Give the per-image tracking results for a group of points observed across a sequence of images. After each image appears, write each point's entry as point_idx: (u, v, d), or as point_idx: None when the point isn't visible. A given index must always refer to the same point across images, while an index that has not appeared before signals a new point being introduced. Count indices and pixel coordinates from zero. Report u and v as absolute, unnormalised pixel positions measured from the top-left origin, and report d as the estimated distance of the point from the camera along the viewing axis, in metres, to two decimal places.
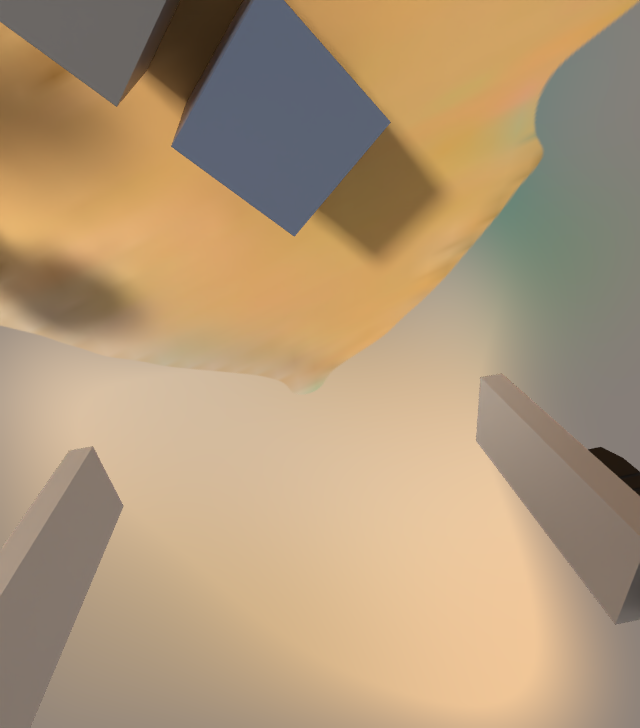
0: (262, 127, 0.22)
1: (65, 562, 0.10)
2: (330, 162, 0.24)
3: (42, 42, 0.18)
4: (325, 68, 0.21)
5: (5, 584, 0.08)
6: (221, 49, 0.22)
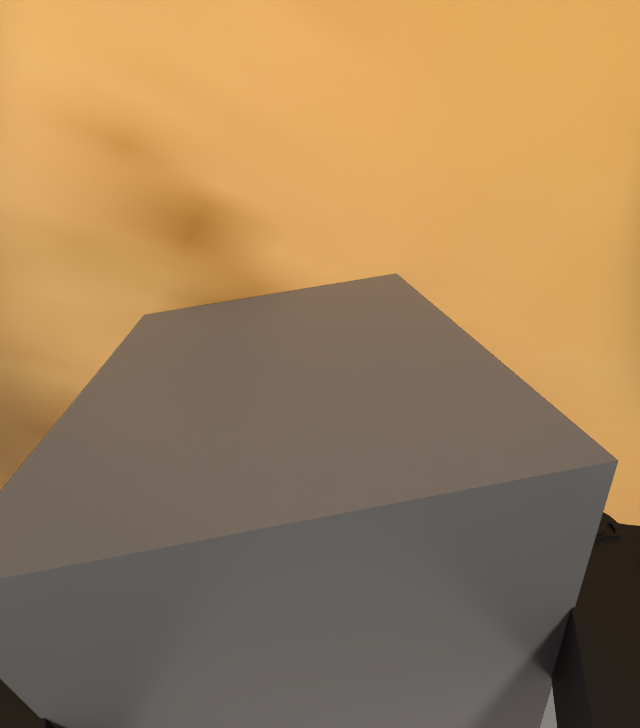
0: None
1: None
2: None
3: None
4: None
5: None
6: None
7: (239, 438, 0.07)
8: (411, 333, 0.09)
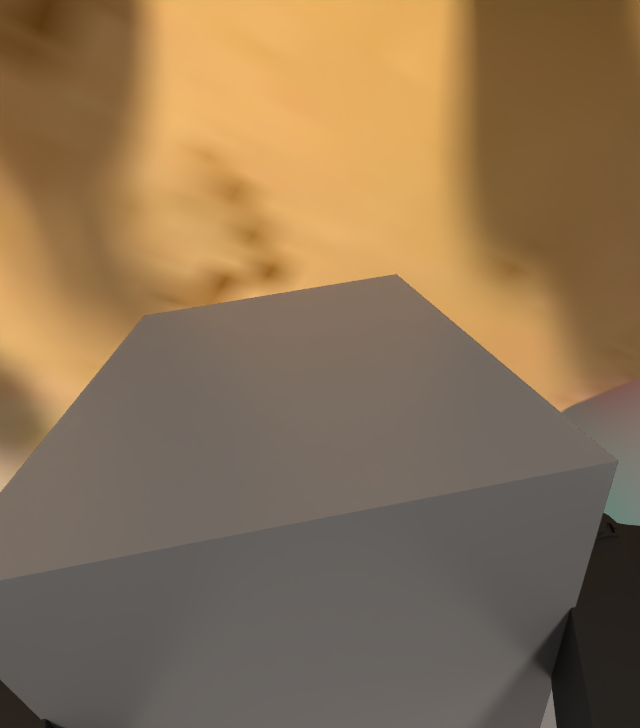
0: None
1: None
2: None
3: None
4: None
5: None
6: None
7: (239, 439, 0.07)
8: (411, 334, 0.09)
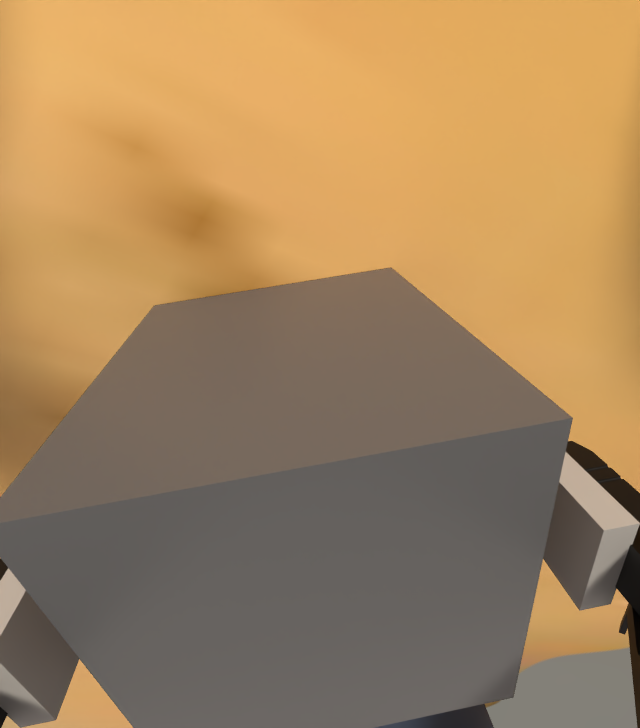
0: None
1: None
2: None
3: (135, 702, 0.08)
4: None
5: None
6: None
7: (247, 406, 0.08)
8: (402, 319, 0.10)
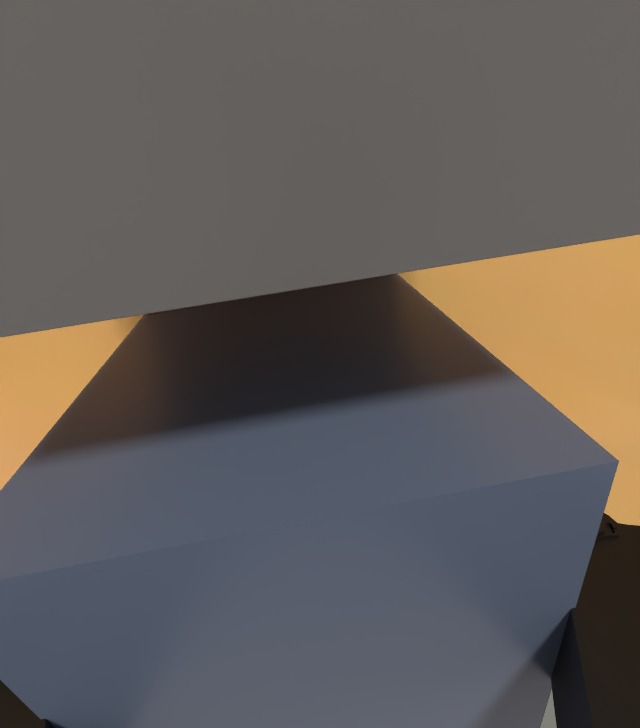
0: (289, 670, 0.07)
1: None
2: None
3: None
4: (533, 647, 0.07)
5: None
6: (304, 377, 0.08)
7: None
8: None
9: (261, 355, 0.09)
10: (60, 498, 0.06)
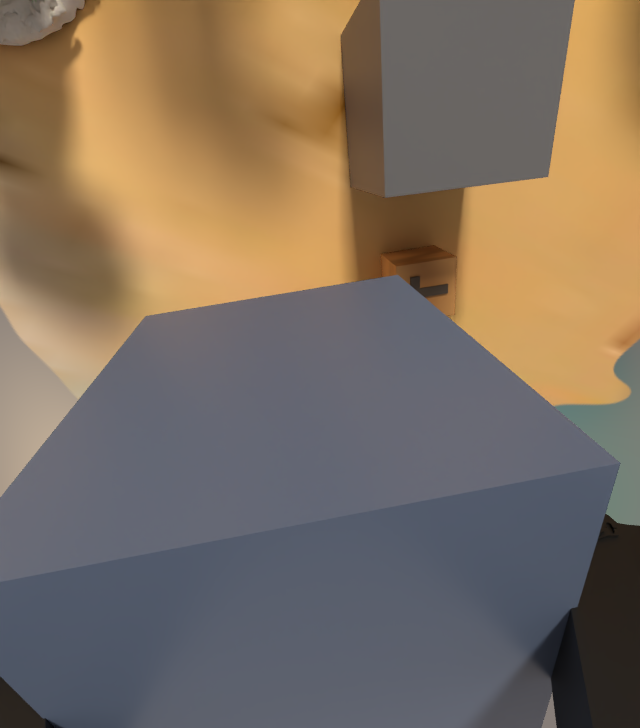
0: (292, 671, 0.07)
1: None
2: None
3: (390, 118, 0.19)
4: (535, 648, 0.07)
5: None
6: (306, 378, 0.08)
7: None
8: None
9: (263, 356, 0.09)
10: (64, 499, 0.06)
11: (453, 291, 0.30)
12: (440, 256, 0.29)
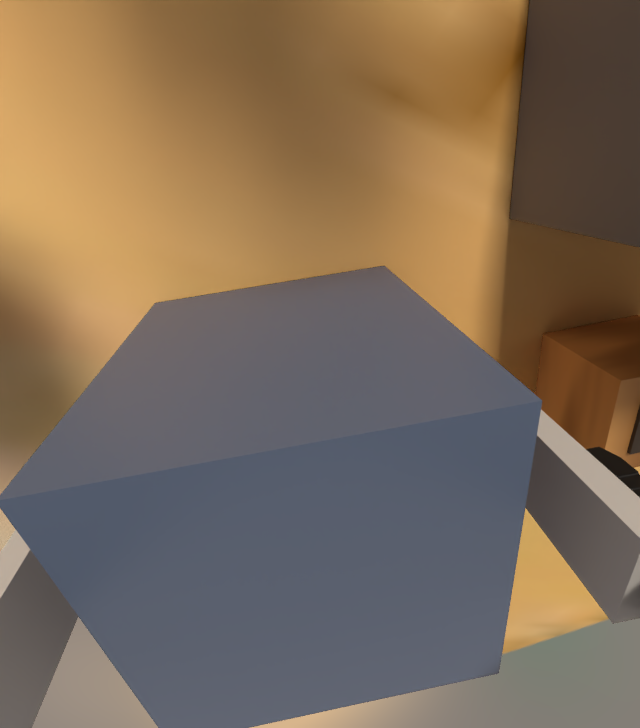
0: (285, 583, 0.08)
1: None
2: (356, 679, 0.10)
3: None
4: (489, 570, 0.09)
5: (7, 582, 0.08)
6: (298, 348, 0.10)
7: None
8: None
9: (261, 333, 0.11)
10: (99, 437, 0.07)
11: None
12: None
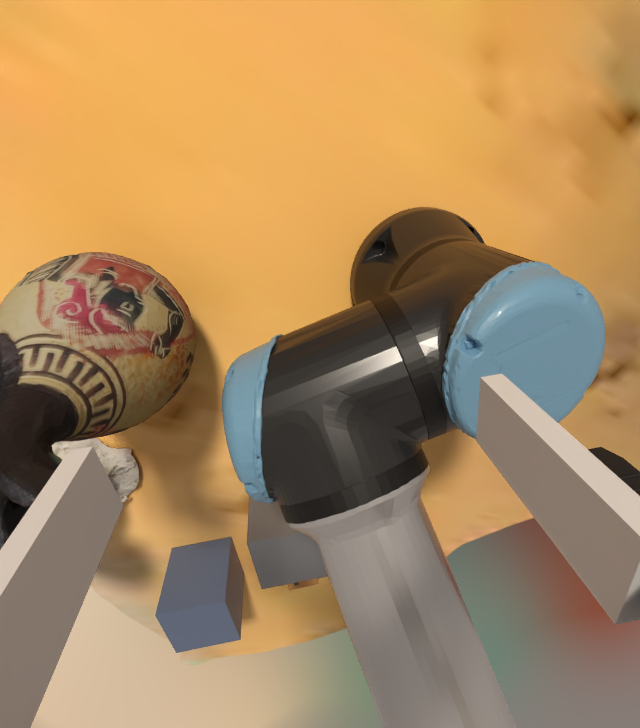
0: (194, 624, 0.52)
1: (65, 562, 0.10)
2: (210, 640, 0.54)
3: (259, 571, 0.49)
4: (228, 621, 0.53)
5: (5, 584, 0.08)
6: (199, 580, 0.54)
7: (278, 523, 0.48)
8: None
9: (194, 572, 0.55)
10: (166, 603, 0.52)
11: None
12: None
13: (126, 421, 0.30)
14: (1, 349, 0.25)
